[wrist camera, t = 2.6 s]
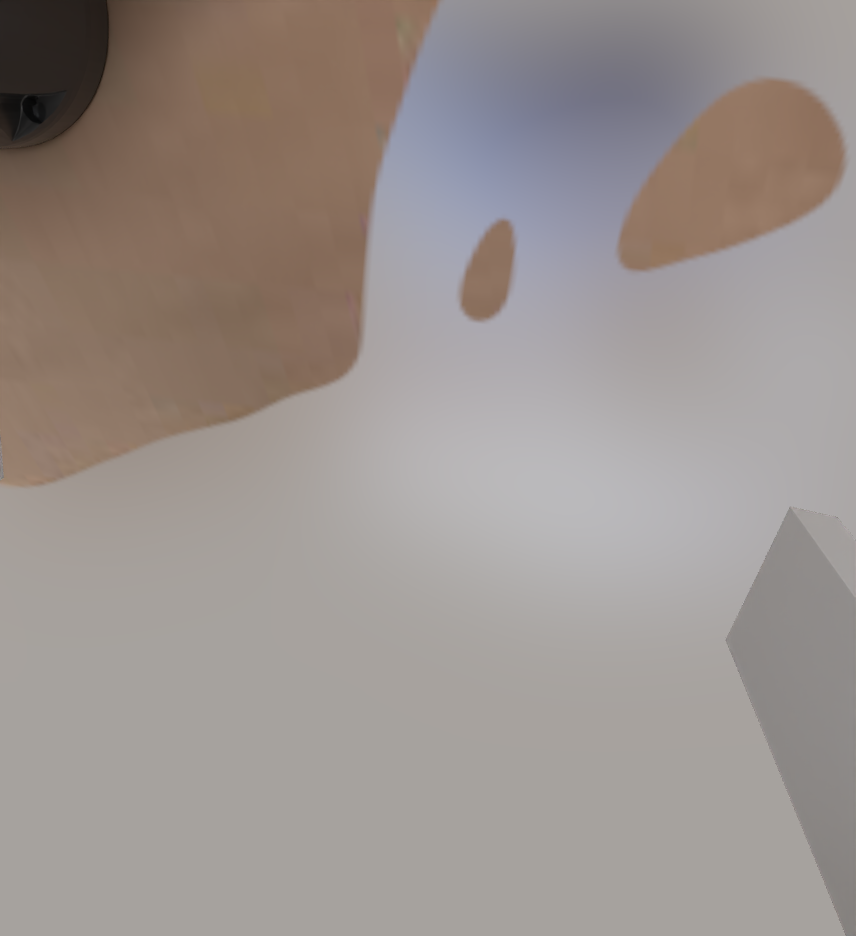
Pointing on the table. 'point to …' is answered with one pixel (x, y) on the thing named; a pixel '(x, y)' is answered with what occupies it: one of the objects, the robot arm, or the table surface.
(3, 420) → the table surface
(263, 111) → the table surface
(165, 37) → the table surface
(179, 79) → the table surface
